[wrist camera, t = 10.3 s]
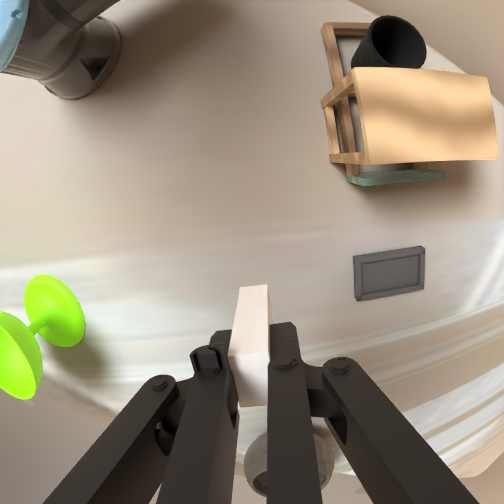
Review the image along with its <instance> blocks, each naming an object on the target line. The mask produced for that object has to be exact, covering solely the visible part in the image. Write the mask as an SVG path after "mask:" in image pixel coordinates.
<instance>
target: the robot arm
mask: <svg viewBox="0 0 504 504" xmlns="http://www.w3.org/2000/svg"><path fill="white" fill-rule="evenodd" d="M118 1H120V0H0V73H6V74H11V75H16V76H21V77H26V78H30V79H34V80H38V81H39V82H40V83H41V84H42V85H44V86H45V88H46V89H47V90H48V91H49V92H50V93H52V94H54V95H55V96H58V97H62V98H67V99H75V98H80V97H83V96H85V95H87V94H89V93H91V92H93V91H94V90H95V89H97V88H98V87H99V86H100V85H101V84H102V83H103V82H104V81H105V80H106V79H107V78H108V76H109V75H110V73H111V72H112V70H113V69H114V67H115V65H116V63H117V60H118V57H119V54H120V48H121V40H120V35H119V32H118V30H117V28H116V27H115V26H114V25H113V24H112V23H111V22H110V21H109V20H107V19H106V18H104V17H102V16H99V14H101V13H102V12H104V11H105V10H107V9H108V8H109V7H111V6H112V5H114V4H115V3H117V2H118ZM189 356H190V359H191V362H192V366H193V369H194V372H195V373H194V376H193V377H192V378H190V379H187V380H183V381H179V382H176V381H175V379H174V378H173V377H172V376H170V375H157V376H154V377H152V378H150V379H149V380H148V381H147V382H146V383H145V384H144V385H143V386H142V387H141V388H140V390H139V391H138V392H137V393H136V394H135V396H134V397H133V398H132V399H131V400H130V401H129V403H128V404H127V405H126V406H125V407H124V408H123V410H122V411H121V412H120V413H119V414H118V416H117V417H116V418H115V419H114V420H113V421H112V423H111V424H110V425H109V426H108V427H107V429H106V430H105V431H104V432H103V433H102V435H101V436H100V437H99V438H98V439H97V440H96V442H95V443H94V444H93V445H92V446H91V448H90V449H89V450H88V451H87V452H86V453H85V454H84V456H83V457H82V458H81V459H80V460H79V461H78V463H77V464H76V465H75V466H74V467H73V469H72V470H71V471H70V472H69V473H68V474H67V476H66V477H65V478H64V479H63V480H62V482H61V483H60V484H59V485H58V486H57V488H56V489H55V490H54V491H53V492H52V493H51V494H50V496H49V497H48V498H47V499H46V500H45V501H44V503H43V504H149V502H150V501H151V499H152V497H153V496H154V494H155V492H156V491H157V489H158V487H159V486H160V484H161V483H162V484H161V488H160V491H159V495H158V498H157V502H156V504H231V500H232V489H233V479H234V469H235V458H236V448H237V438H238V427H239V417H240V416H239V411H238V408H237V406H238V401H239V405H240V407H253V406H265V405H268V410H267V504H323V503H322V495H321V487H320V479H319V471H318V463H317V456H316V449H315V442H314V434H313V427H312V421H311V416H312V417H323V418H324V420H325V422H326V424H327V426H328V428H329V429H330V431H331V433H332V434H333V436H334V438H335V440H336V441H337V443H338V445H339V446H340V448H341V450H342V452H343V453H344V455H345V457H346V458H347V460H348V462H349V464H350V465H351V467H352V469H353V470H354V472H355V474H356V475H357V477H358V479H359V480H360V482H361V484H362V485H363V487H364V489H365V490H366V492H367V494H368V495H369V497H370V499H371V500H372V502H373V504H479V503H478V502H477V500H476V499H475V498H474V497H473V496H472V494H471V493H470V492H469V491H468V490H467V489H466V488H465V486H464V485H463V484H462V483H461V482H460V480H459V479H458V478H457V477H456V476H455V475H454V473H453V472H452V471H451V470H450V469H449V468H448V467H447V465H446V464H445V463H444V462H443V461H442V460H441V458H440V457H439V456H438V455H437V454H436V453H435V452H434V450H433V449H432V448H431V447H430V446H429V445H428V443H427V442H426V441H425V440H424V439H423V438H422V437H421V435H420V434H419V433H418V432H417V431H416V430H415V428H414V427H413V426H412V425H411V424H410V423H409V422H408V420H407V419H406V418H405V417H404V416H403V415H402V414H401V412H400V411H399V410H398V409H397V408H396V407H395V406H394V404H393V403H392V402H391V401H390V400H389V399H388V398H387V396H386V395H385V394H384V393H383V392H382V391H381V390H380V388H379V387H378V386H377V385H376V384H375V383H374V382H373V380H372V379H371V378H370V377H369V376H368V375H367V374H366V372H365V371H364V370H363V369H362V368H361V367H360V366H359V364H358V363H357V362H356V361H354V360H353V359H351V358H347V357H337V358H333V359H330V360H328V361H327V362H326V363H325V364H324V365H323V367H315V366H311V365H308V364H306V363H304V362H303V360H302V359H301V355H300V349H299V343H298V337H297V331H296V326H294V325H293V324H292V323H291V322H286V323H278V324H273V321H272V314H271V307H270V300H269V293H268V286H267V284H262V285H254V286H246V287H240V291H239V296H238V302H237V307H236V312H235V318H234V323H233V329H232V330H222V331H216V333H215V334H214V335H213V336H212V337H211V339H210V343H209V345H206V346H202V347H199V348H197V349H195V350H194V351H192V352H191V354H190V355H189ZM158 423H159V424H158ZM156 426H157V427H156Z"/></svg>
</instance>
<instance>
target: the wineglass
mask: <svg viewBox="0 0 504 504" xmlns="http://www.w3.org/2000/svg"><path fill="white" fill-rule="evenodd" d="M24 305H25V310H26V313H27V316H28V318H29V321H30V322H31V325H30V326H29V327H27V326H26V325H25V324H24V323H23V322H22V321H21V320H20V319H18V318H17V317H15V316H14V315H11V314H8V313H5V312H2V311H0V388H1V389H3V390H4V391H6V392H7V393H8V394H10V395H12V396H14V397H16V398H19V399H24V400H25V399H30V398H31V397H32V396H33V395H34V394H35V392H36V391H37V389H38V387H39V384H40V381H41V377H42V372H43V366H42V355H41V351H40V347H39V345H38V343H37V341H36V339H35V337H34V335H35V334H36V333H37V332H38V333H39V335H40V336H42V337H43V338H44V339H45V340H46V341H48V342H50V343H51V344H53V345H56V346H59V347H72V346H74V345H77V344H78V343H79V342H80V341H81V340H82V338H83V335H84V332H85V320H84V314H83V312H82V309H81V306H80V304H79V302H78V301H77V299H76V297H75V295H74V294H73V293H72V292H71V291H70V289H69V288H68V287H67V286H66V285H64V284H63V283H62V282H61V281H60V280H58V279H56V278H54V277H52V276H48V275H37V276H35V277H34V278H32V279H31V280H30V281H29V283H28V284H27V286H26V289H25V293H24Z"/></svg>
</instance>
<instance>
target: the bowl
mask: <svg viewBox="0 0 504 504" xmlns="http://www.w3.org/2000/svg"><path fill="white" fill-rule="evenodd" d="M313 434H314V442H315V449H316V456H317V463H318V471H319V479H320V487H321V490H322V489H323V488H324V487H325V486H326V485H327V484H328V482H329V480H330V478H331V475H332V472H333V468H334V456H333V453H332V450H331V448H330V446H329V444H328V443H327V442H326V441H325V440H324V439H323V438H321V437H320V436H318V435H317V434H315V433H313ZM244 471H245V475H246V478H247V481H248V483H249V485H250V486H251V488H252V489H253V490H254V491H255V492H256V493H258V494H260V495H261V496H264V497H267V434H264V435H262V436H261V437H259V438H258V439H256V440H255V441H254V442H253V443H252V444H251V446H250V447H249V448H248V450H247V452H246V455H245V459H244Z"/></svg>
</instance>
